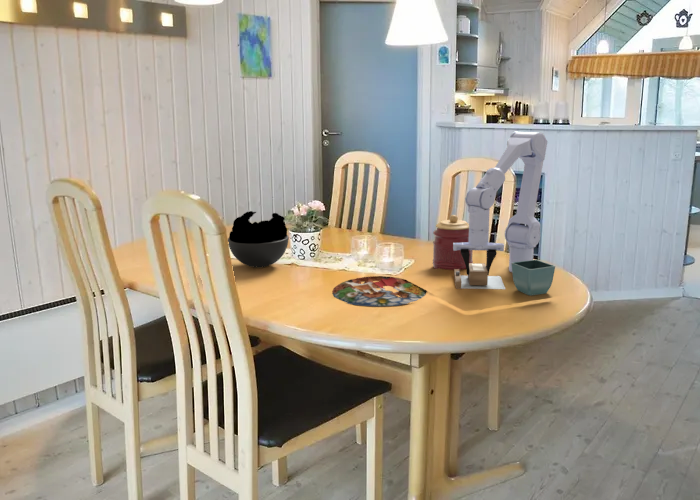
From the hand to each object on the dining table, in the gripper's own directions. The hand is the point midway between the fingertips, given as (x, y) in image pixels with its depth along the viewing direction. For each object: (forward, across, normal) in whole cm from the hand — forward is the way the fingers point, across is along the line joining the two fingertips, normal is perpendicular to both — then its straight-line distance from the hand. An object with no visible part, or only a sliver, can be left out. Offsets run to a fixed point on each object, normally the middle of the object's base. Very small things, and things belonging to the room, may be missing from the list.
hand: (477, 274), depth 193 cm
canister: (+4, -6, +20) cm, 21 cm away
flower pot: (+4, +14, -9) cm, 17 cm away
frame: (+2, 0, 0) cm, 2 cm away
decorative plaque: (+4, -28, -8) cm, 30 cm away
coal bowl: (+4, -70, +17) cm, 73 cm away
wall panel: (+3, 0, 0) cm, 3 cm away
